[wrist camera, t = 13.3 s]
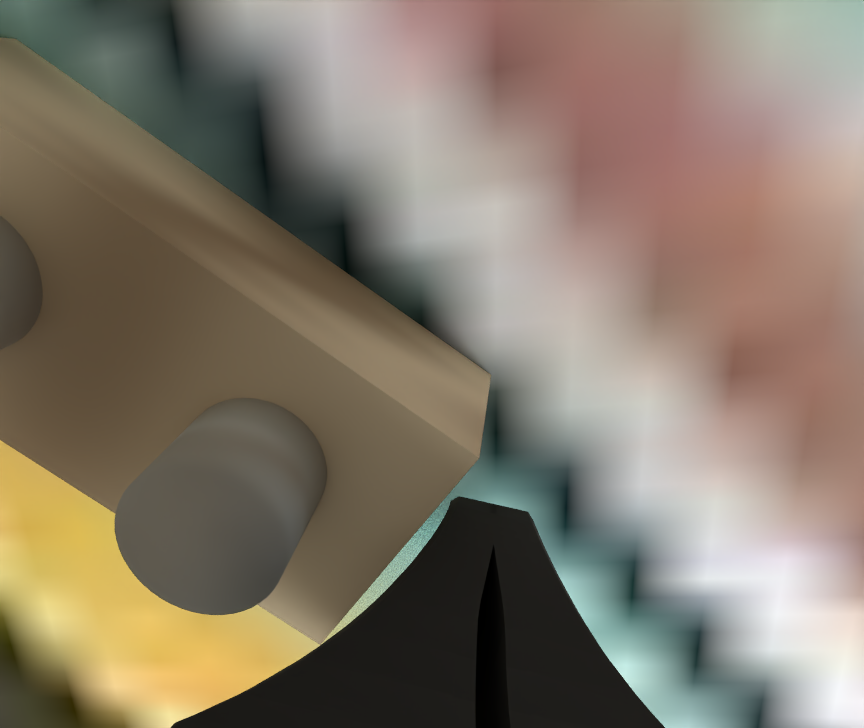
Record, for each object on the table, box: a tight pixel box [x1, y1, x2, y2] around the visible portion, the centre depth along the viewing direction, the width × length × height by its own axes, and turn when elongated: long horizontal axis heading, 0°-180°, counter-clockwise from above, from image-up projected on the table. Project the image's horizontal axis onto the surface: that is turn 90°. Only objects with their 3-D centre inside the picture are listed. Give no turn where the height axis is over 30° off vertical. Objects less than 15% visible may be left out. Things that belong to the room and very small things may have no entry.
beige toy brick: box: [0, 37, 491, 644], centre depth 10 cm, size 9×4×5 cm, turn 55°
